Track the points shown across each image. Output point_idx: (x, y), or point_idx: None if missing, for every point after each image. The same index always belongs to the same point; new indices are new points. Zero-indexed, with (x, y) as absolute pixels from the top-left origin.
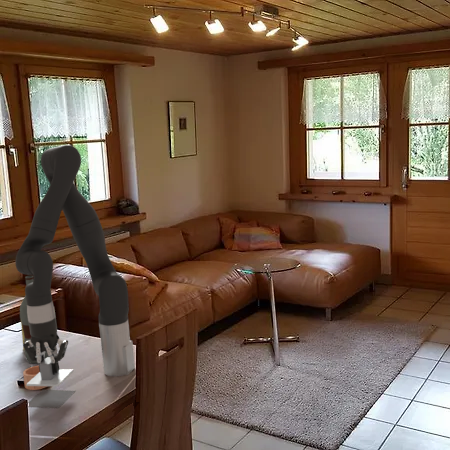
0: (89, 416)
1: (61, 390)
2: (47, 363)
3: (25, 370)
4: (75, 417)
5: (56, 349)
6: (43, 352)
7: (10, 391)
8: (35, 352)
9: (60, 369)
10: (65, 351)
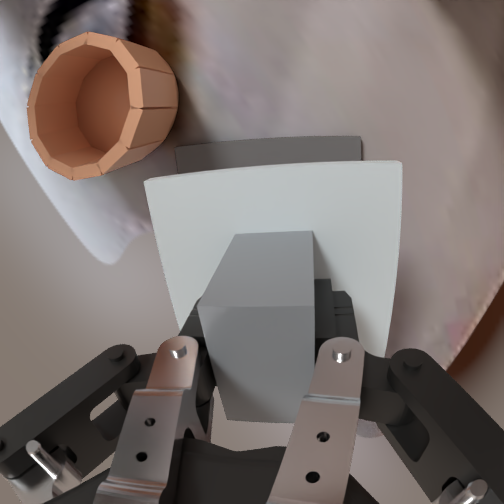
0: (474, 323)
1: (279, 141)
2: (293, 415)
3: (32, 127)
4: (434, 336)
5: (356, 427)
6: (196, 428)
7: (59, 185)
8: (102, 399)
9: (291, 171)
10: (470, 399)
